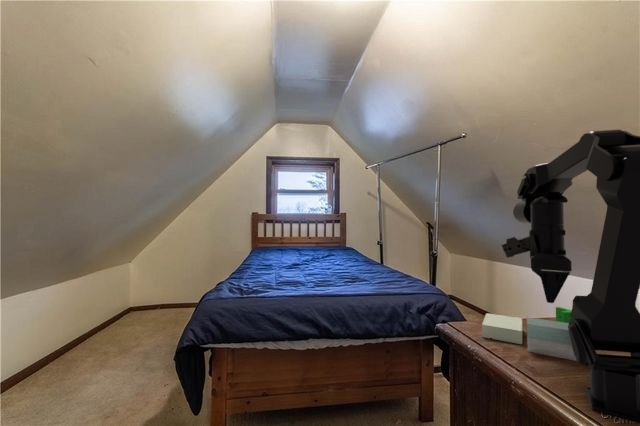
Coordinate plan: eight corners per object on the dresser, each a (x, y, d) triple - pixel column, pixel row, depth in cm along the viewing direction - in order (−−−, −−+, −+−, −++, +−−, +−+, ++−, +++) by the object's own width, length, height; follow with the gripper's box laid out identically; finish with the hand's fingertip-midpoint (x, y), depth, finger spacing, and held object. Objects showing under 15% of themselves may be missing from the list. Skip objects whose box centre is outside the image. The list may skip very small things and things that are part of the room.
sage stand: (522, 344, 68) (521, 331, 68) (482, 337, 73) (481, 324, 73) (522, 330, 77) (522, 318, 77) (486, 324, 81) (486, 313, 81)
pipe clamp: (549, 325, 80) (548, 308, 80) (559, 323, 81) (558, 306, 81) (600, 341, 70) (599, 321, 70) (610, 338, 71) (609, 319, 71)
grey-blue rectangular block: (576, 361, 60) (575, 331, 60) (527, 351, 65) (526, 323, 65) (572, 351, 64) (572, 323, 65) (527, 343, 69) (526, 317, 69)
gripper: (505, 223, 77) (507, 284, 77) (500, 226, 62) (502, 302, 62) (561, 223, 71) (562, 289, 71) (570, 226, 55) (573, 311, 55)
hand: (548, 297), depth 65 cm, fingers open, 9 cm apart
